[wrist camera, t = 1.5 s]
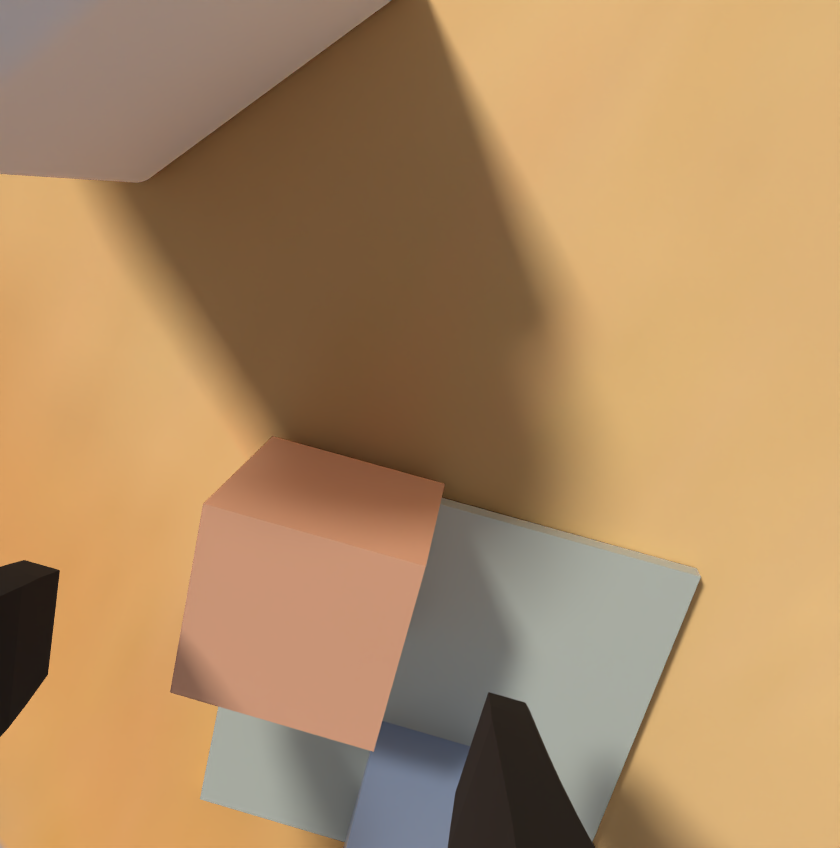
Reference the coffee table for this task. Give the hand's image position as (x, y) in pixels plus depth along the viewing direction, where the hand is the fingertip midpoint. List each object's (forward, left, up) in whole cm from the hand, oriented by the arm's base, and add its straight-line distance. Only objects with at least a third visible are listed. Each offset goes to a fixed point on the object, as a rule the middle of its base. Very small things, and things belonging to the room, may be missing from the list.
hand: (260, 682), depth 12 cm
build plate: (-3, +4, -6) cm, 8 cm away
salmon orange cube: (0, 0, -6) cm, 6 cm away
